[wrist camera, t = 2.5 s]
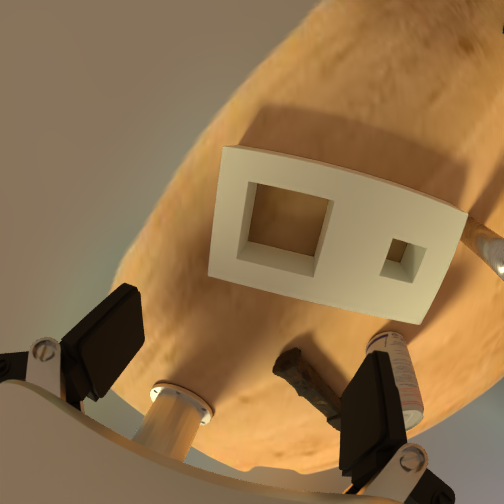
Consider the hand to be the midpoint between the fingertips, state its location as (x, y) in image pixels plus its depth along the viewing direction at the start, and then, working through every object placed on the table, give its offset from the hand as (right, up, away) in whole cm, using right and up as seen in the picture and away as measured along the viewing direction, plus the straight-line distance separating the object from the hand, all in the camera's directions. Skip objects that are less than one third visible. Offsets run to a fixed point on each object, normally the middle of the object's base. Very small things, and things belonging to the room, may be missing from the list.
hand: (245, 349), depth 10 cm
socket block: (+9, +6, +16) cm, 19 cm away
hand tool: (+11, -16, +25) cm, 31 cm away
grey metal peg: (+24, +6, +12) cm, 27 cm away
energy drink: (+17, -8, +20) cm, 28 cm away
